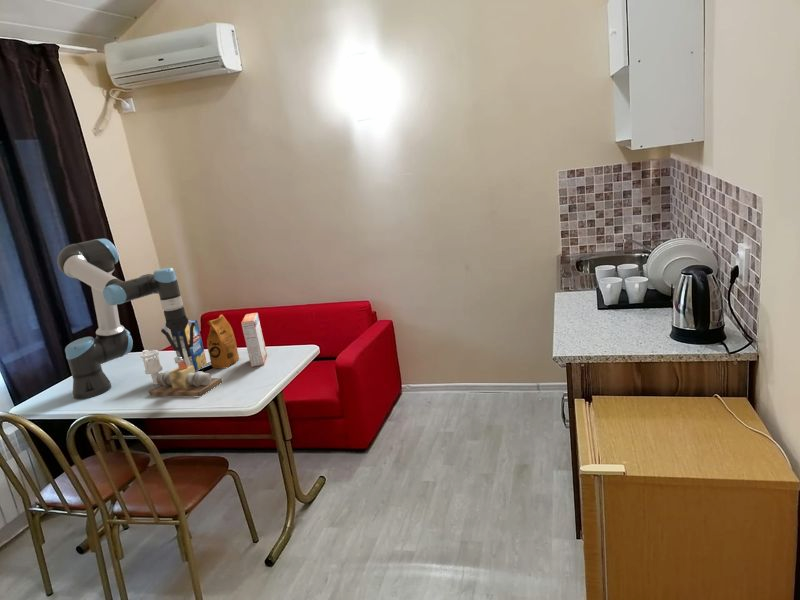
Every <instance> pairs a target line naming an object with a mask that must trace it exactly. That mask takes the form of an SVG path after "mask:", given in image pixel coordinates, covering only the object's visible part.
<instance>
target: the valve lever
mask: <svg viewBox="0 0 800 600" xmlns="http://www.w3.org/2000/svg"><path fill="white" fill-rule="evenodd" d="M174 363H175V364H177V367H179V369H180V370H185V369H187V365H186V363H185V361H184V360H183V359H182V358H181V356H178V357H177V356H175V357H174Z"/></svg>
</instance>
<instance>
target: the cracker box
mask: <svg viewBox="0 0 800 600" xmlns="http://www.w3.org/2000/svg"><path fill="white" fill-rule="evenodd" d="M260 322H261V321H260V318H259V313H258V312H252V313H246V314H245V315H244V317H243V318H242V321H241V322H240V323H241V329H242V333H243V336H244V341H245V345H246V348H247V349H246V350H247V354H248V358H249V363H250V366H251V368H255V367H259V366H260V367H261V366H264V365H265V362H266V359H267V356H268V352H267V349H266V343H265V340H264V336H263V332H262V331H263V330H262V327H261V323H260ZM254 366H255V367H254Z"/></svg>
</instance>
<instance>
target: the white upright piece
mask: <svg viewBox="0 0 800 600" xmlns="http://www.w3.org/2000/svg"><path fill="white" fill-rule="evenodd" d="M140 358H141V359H142V361H143V365H144V368H145V370H144V373H145V374H146V375H151V380H152V383H153V385H154V384H155V385H159V384H158V383H157V376H158V374H159V373H161V372H162V371H163V370H164V368H163V366H162V365H161V363H160V358H159V350H157V349H153V350H148V349H144V350H142V353H141V354H140Z"/></svg>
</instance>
